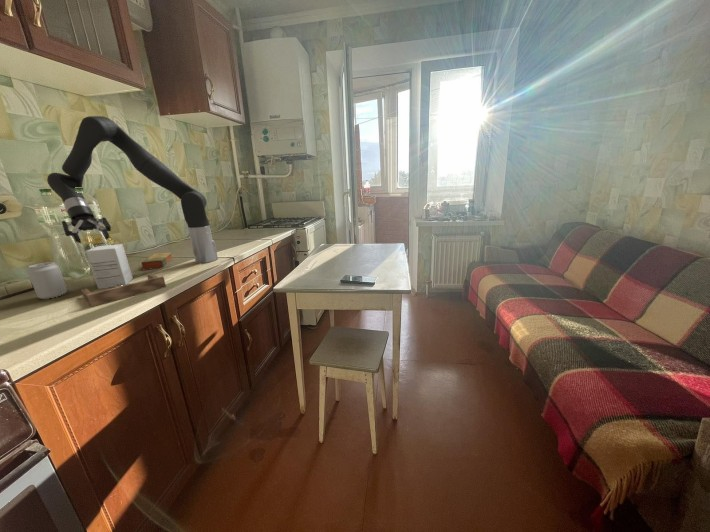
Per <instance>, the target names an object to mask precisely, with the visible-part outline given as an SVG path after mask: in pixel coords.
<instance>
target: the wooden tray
mask: <svg viewBox="0 0 710 532" xmlns="http://www.w3.org/2000/svg"><path fill="white" fill-rule="evenodd" d="M146 277H147V279H144V280H143V279H142V280H140V281H136V282H132V283H128V284H127V285H123V286H118V287H111V288H106V289H102V290H100V291H94V292H91V291H90V290H89V288H84V289H80V290H81V293H82V296H83V297H85V298H84V299H85V300H86V301H87V302H89V303H88V304H89V305H90V307H92V308H94V307H97V306H101V305H105V304H108V303H112V302H115V300H116V301H119V300H123V299H126V298H130V297H134V296H136V295H140V294H145V293H148V292H152V291H155V290H158V289H163V288H166V287H167V284H166V282H165V277H164V276H163V275H161V276H157V275H155V274H153V273H148V274H146ZM162 287H163V288H162ZM111 301H112V302H111ZM104 303H105V304H104ZM100 304H101V305H100ZM96 305H97V306H96ZM93 306H94V307H93Z"/></svg>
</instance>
